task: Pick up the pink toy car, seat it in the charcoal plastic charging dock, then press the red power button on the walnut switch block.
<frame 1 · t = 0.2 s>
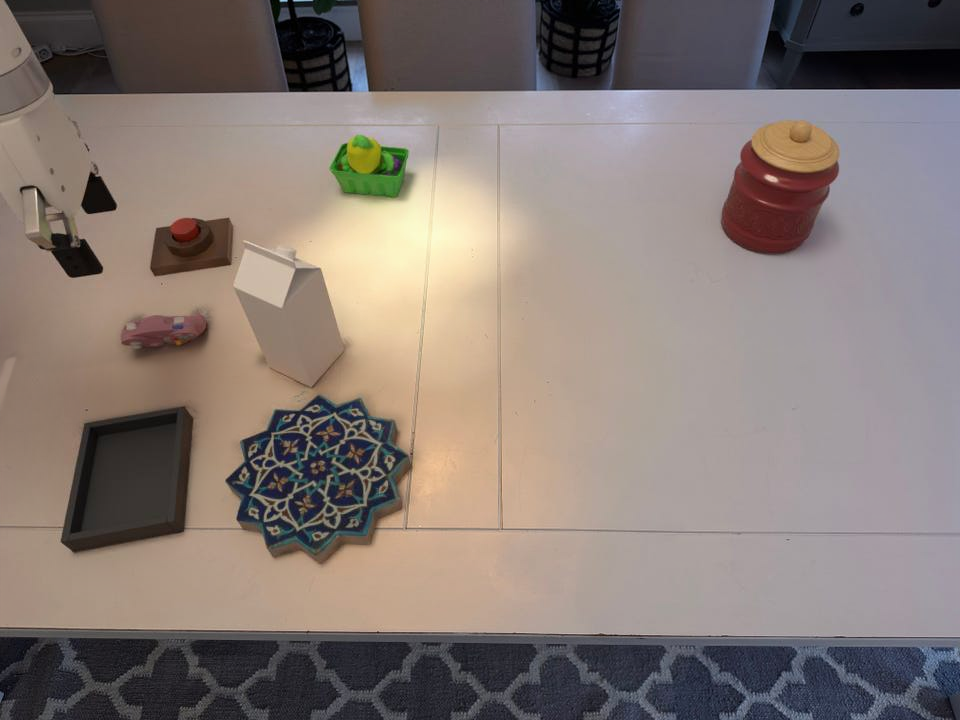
hand: (95, 241, 69), 23 cm above the table, tool pointing down, fingers open, 9 cm apart
dock: (137, 481, 78), on the table
milk carton: (307, 359, 88), on the table
fruit basket: (373, 188, 110), on the table
decorative tile: (322, 478, 77), on the table
pink toy car: (171, 342, 91), on the table
kitchen canister: (762, 227, 102), on the table
switch block: (194, 250, 102), on the table
power button: (185, 230, 99), point 4 cm above the table, slide at 0.1 cm
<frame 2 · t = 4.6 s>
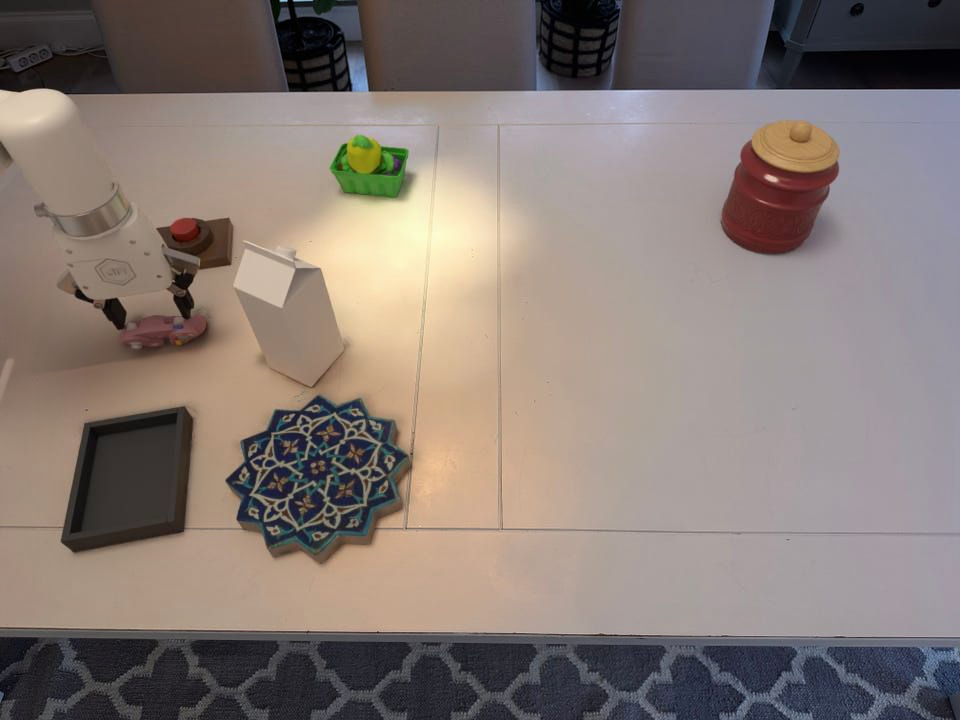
hand: (155, 316, 87), 5 cm above the table, tool pointing down, fingers closed on pink toy car, 7 cm apart
pink toy car: (171, 342, 91), on the table, touching gripper
everything else where it was.
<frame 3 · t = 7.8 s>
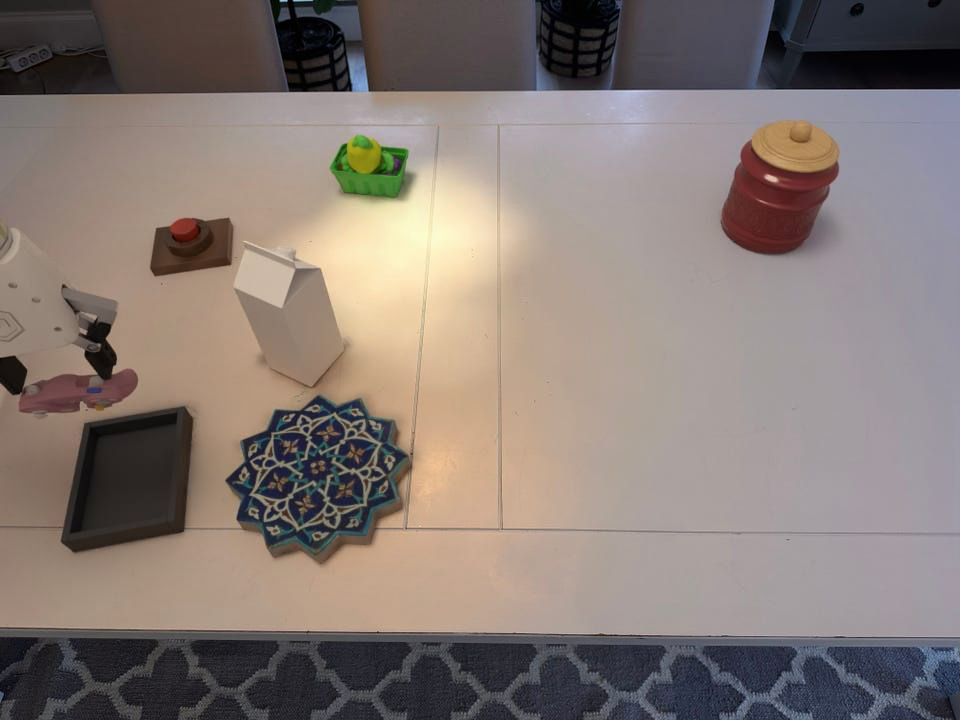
hand: (65, 375, 65), 17 cm above the table, tool pointing down, fingers closed on pink toy car, 7 cm apart
pink toy car: (91, 406, 69), point 12 cm above the table, touching gripper
everything else where it was.
when the fingers open (6 cm above the table, at t = 11.3 s): pink toy car stays where it is, resting on dock.
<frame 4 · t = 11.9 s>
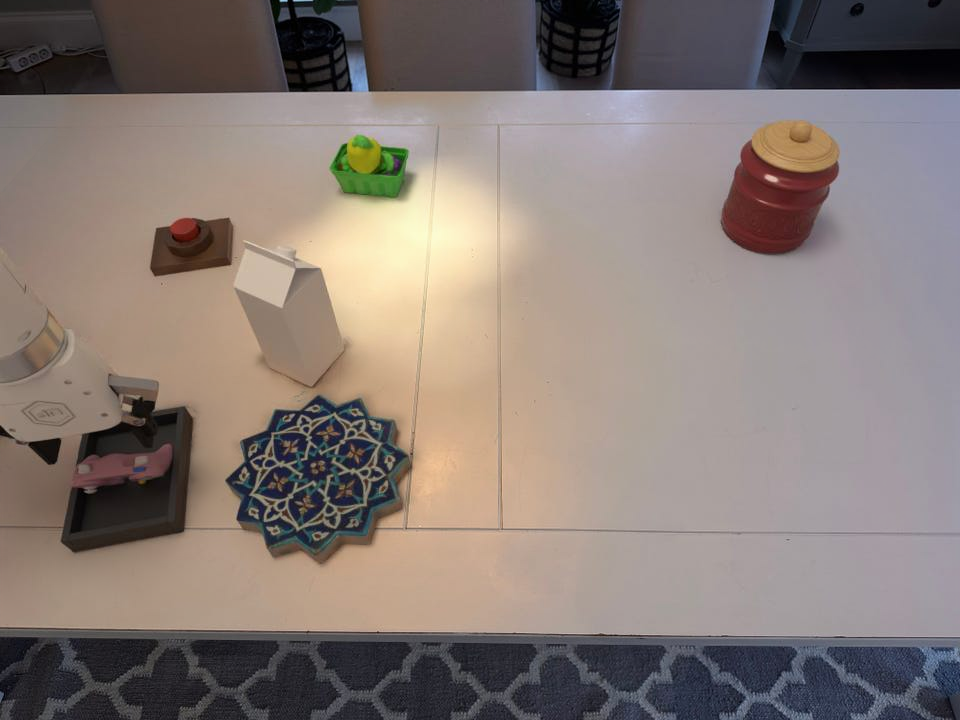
hand: (103, 444, 71), 8 cm above the table, tool pointing down, fingers open, 9 cm apart
pink toy car: (134, 478, 77), point 1 cm above the table, touching dock
everything else where it was.
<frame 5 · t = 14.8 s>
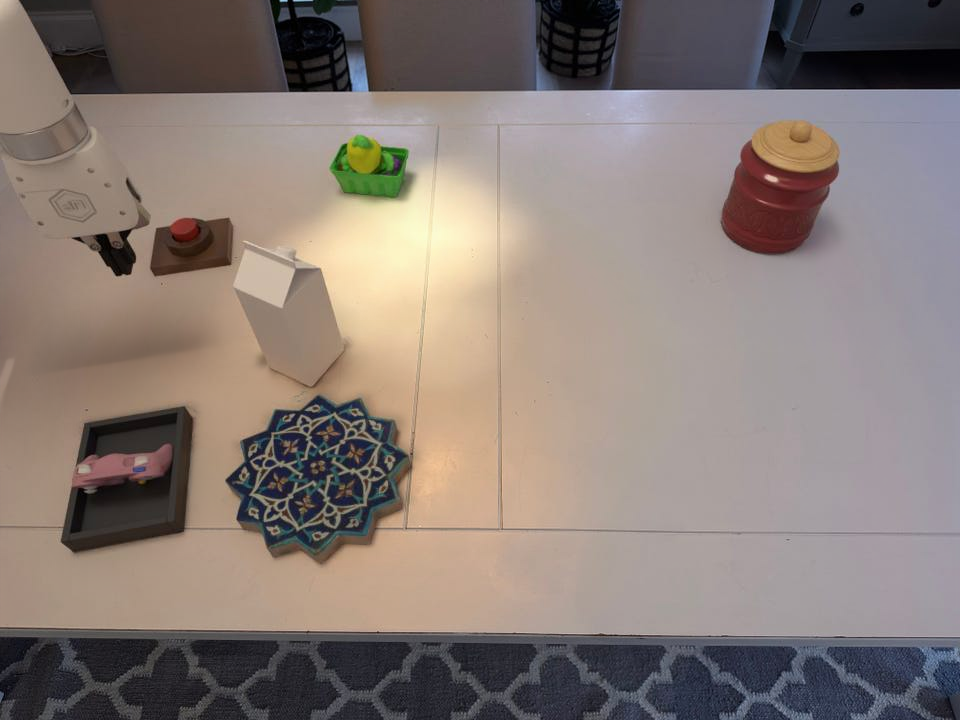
hand: (125, 267, 79), 14 cm above the table, tool pointing down, fingers closed
nothing on the table moved.
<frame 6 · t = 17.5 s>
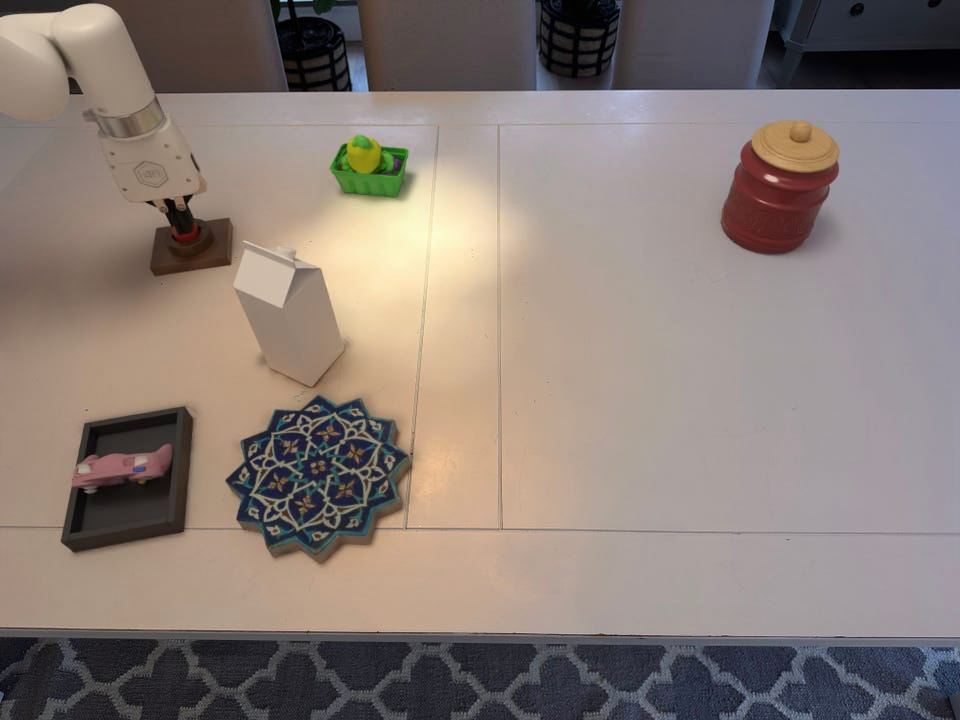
hand: (185, 227, 98), 4 cm above the table, tool pointing down, fingers closed
power button: (186, 232, 99), point 3 cm above the table, slide at -0.4 cm, touching gripper
everything else where it was.
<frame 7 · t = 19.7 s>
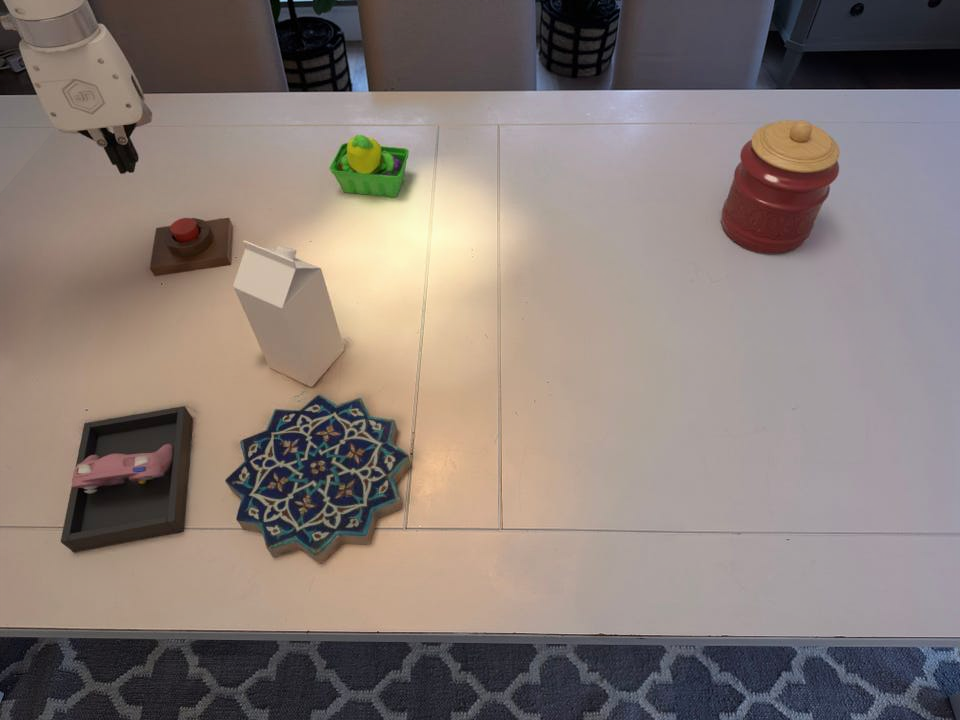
hand: (128, 166, 87), 17 cm above the table, tool pointing down, fingers closed
power button: (185, 230, 99), point 4 cm above the table, slide at 0.1 cm
everything else where it was.
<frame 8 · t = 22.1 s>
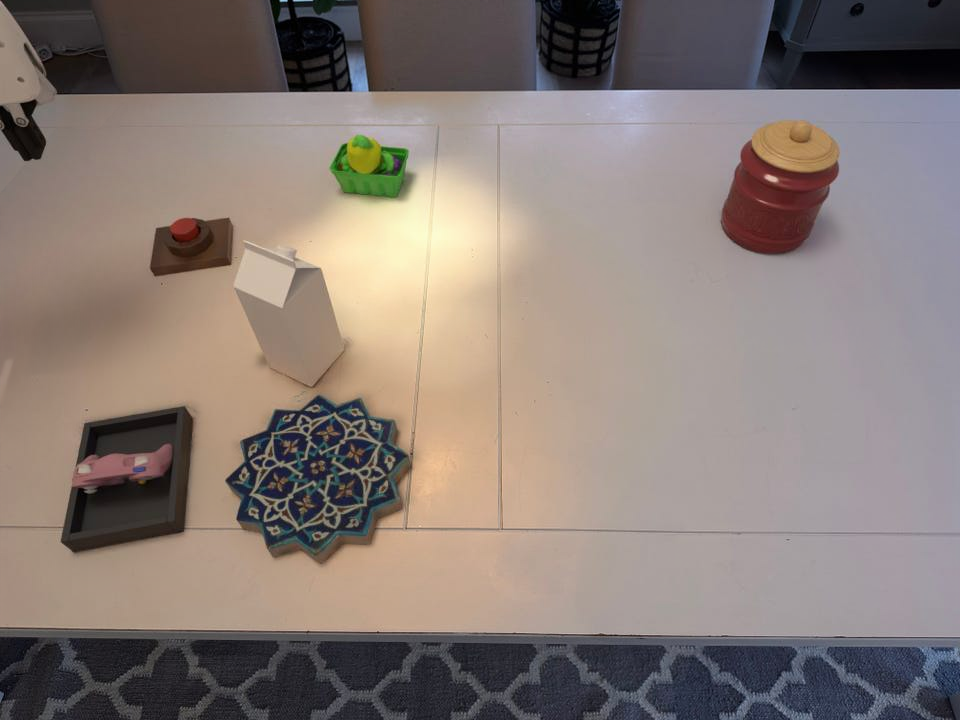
hand: (35, 153, 75), 25 cm above the table, tool pointing down, fingers closed
nothing on the table moved.
at the end: pink toy car 0.1 cm off-centre in the dock, point 0.6 cm above the dock's base; power button pushed in 1.1 cm at the most during the clip, back to where it started at the end; power button slide at 0.1 cm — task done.
